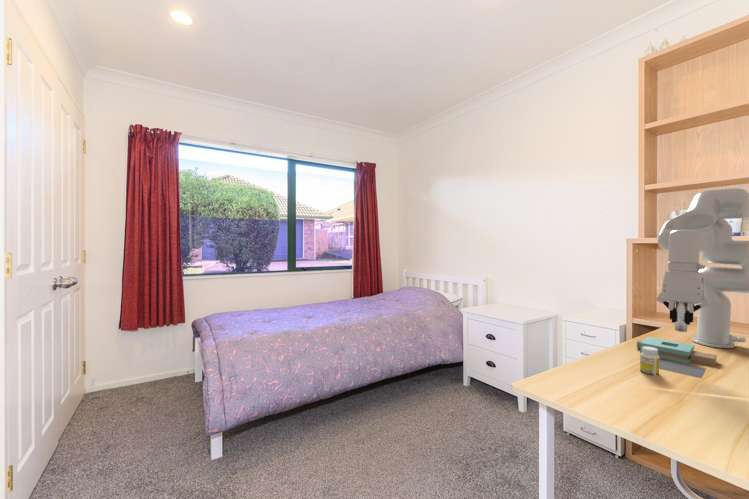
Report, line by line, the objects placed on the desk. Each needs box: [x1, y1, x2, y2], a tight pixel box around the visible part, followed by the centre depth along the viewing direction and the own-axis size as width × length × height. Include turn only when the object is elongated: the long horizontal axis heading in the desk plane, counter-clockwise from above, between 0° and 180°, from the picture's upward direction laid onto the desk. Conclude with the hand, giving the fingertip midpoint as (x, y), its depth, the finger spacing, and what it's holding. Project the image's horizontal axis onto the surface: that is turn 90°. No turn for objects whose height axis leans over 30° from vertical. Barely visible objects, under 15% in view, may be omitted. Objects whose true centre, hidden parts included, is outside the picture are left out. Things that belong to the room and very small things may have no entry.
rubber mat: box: [659, 357, 707, 379], centre depth 114 cm, size 12×12×1 cm
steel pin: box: [674, 302, 689, 333], centre depth 113 cm, size 3×3×10 cm
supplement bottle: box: [639, 346, 660, 376], centre depth 110 cm, size 5×5×8 cm
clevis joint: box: [636, 336, 718, 367], centre depth 125 cm, size 22×12×4 cm, turn 41°
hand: (681, 322), depth 113 cm, fingers closed on steel pin, 3 cm apart
